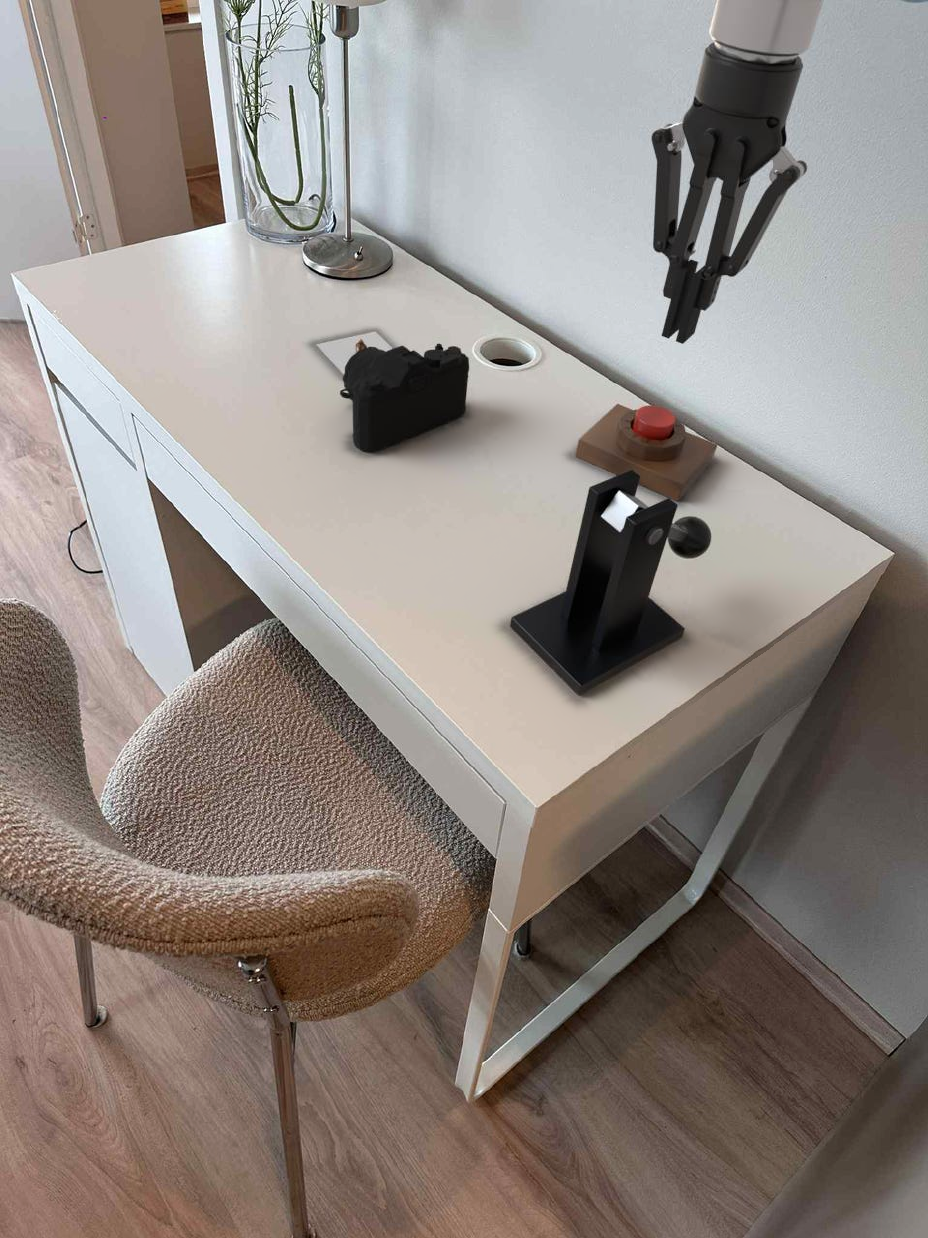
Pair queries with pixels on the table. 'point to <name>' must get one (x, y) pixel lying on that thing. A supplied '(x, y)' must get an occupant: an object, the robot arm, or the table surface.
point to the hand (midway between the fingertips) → (678, 334)
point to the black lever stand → (605, 594)
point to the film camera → (403, 393)
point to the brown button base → (646, 453)
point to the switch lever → (684, 536)
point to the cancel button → (653, 422)
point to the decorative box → (351, 347)
